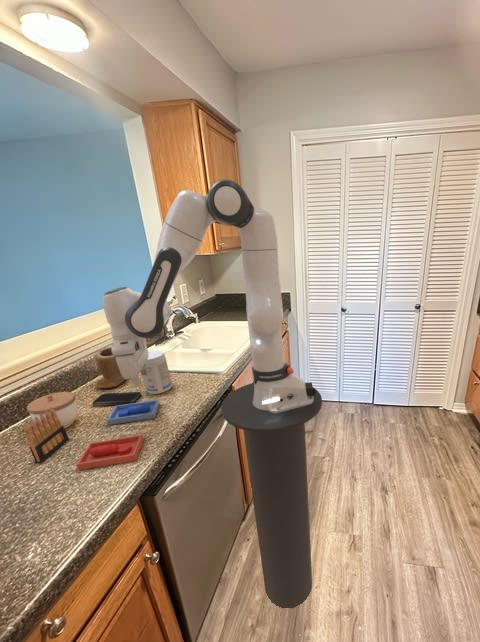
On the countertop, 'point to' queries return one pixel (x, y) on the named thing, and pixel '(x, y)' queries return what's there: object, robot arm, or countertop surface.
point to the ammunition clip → (45, 435)
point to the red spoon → (111, 449)
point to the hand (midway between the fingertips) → (141, 380)
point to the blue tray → (150, 414)
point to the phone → (116, 398)
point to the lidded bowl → (55, 407)
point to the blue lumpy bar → (134, 410)
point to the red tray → (110, 459)
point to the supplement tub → (157, 373)
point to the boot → (108, 369)
